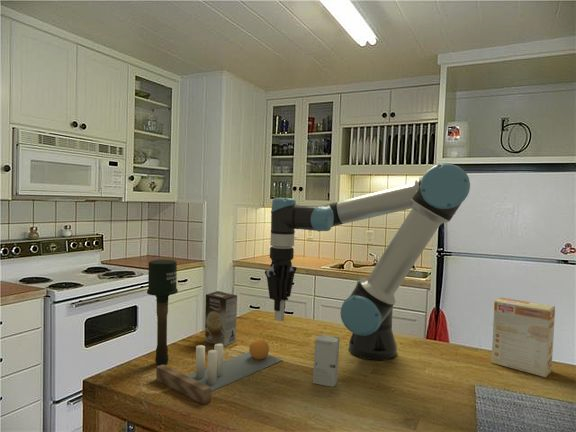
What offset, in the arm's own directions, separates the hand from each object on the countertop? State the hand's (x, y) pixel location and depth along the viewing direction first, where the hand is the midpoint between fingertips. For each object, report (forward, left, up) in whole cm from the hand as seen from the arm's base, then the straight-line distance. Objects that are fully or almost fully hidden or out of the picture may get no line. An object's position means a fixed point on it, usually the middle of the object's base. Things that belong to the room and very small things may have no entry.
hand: (279, 320), depth 137 cm
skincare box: (-24, +8, -10) cm, 28 cm away
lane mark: (0, +20, -10) cm, 22 cm away
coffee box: (+20, +7, -10) cm, 23 cm away
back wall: (0, +37, -10) cm, 39 cm away
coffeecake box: (-61, -41, -10) cm, 74 cm away
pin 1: (+2, +30, -10) cm, 31 cm away
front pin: (0, +25, -10) cm, 27 cm away
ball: (0, +9, -7) cm, 12 cm away
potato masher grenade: (+18, +31, -10) cm, 37 cm away
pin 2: (-3, +30, -10) cm, 31 cm away
